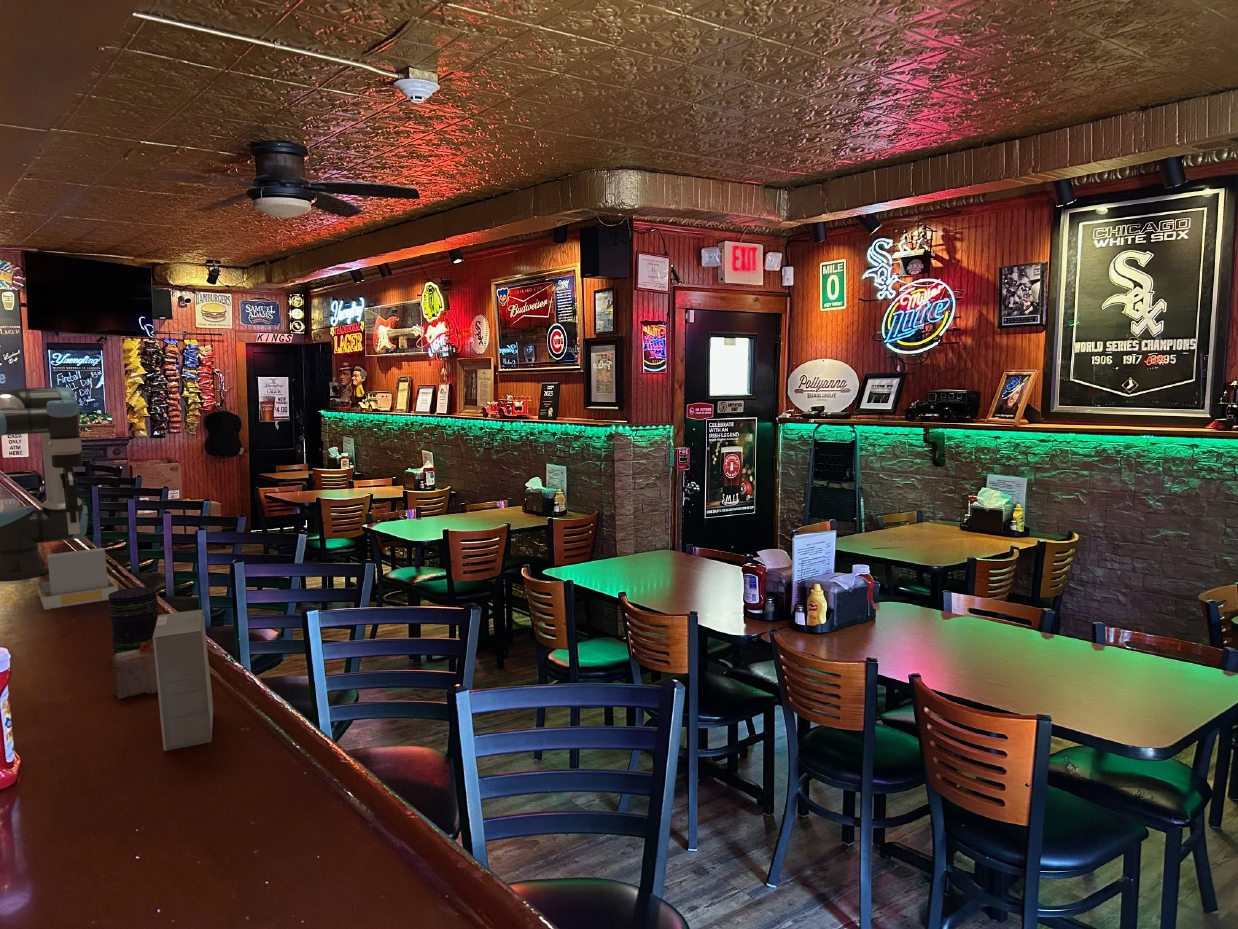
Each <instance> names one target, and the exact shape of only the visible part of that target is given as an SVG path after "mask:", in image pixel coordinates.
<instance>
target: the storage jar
mask: <svg viewBox="0 0 1238 929" xmlns="http://www.w3.org/2000/svg"><path fill="white" fill-rule="evenodd" d="M157 591H158V590H157V588H156V587H151V586H140V587H132V588H131V587H130V588H124V589H120V590H119V589H118V591H115V592H112V593H110V594H109V595H108V599H109V600H108V612H109V619H110V620H111V626H112V636H111V642H112V643H111V648H112V650H113V651H112V652H113V656H114V655H116V654H117V653H122V652H128V651H133V650H138V649H139V648H140V646H139V645H141V644H142V643H145V642H147V641H149V642H153V635H154V631H155V628H156V622H157V619H158V614H159V609H160V608H159V600H158V595H157Z"/></svg>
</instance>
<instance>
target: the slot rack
mask: <svg viewBox="0 0 1238 929" xmlns="http://www.w3.org/2000/svg"><path fill="white" fill-rule="evenodd" d="M107 579H108V588H101V589H95V590H88V591H81V592H74V593H68V594H61V595H54V596H51V589H50V581H47V582H46V581H45V582H40V583H37V592H38V597H39V599H40V603H41V605H42V608H43V610H50V609H51V608H52V609H59V608H64V607H70V606H78V605H83V604H90V603H95V602H103V601H109V599H108V595H109V594H110V593H112V592H115V591H119V585H118V584H117V583H116V582H115V581H114V580H113V579H112V578H111V576H110V575H109V573H107ZM52 609H51V610H52Z"/></svg>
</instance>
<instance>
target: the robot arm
mask: <svg viewBox="0 0 1238 929" xmlns="http://www.w3.org/2000/svg"><path fill="white" fill-rule="evenodd" d="M75 394H76V393H75V392H74V390H73V389H72V388H71V387H60V386H59V387H58V386H52V387H51V386H49V387H48V386H47V387H46V386H45V387H27V388H24V387H21V388H13V389H8V390H6V391H3V392H0V437H3V436H10V435H11V436H12V435H13V436H15V435H28V434H32V435H34V434H40V437H41V448H42V459H43V470H44V471H43V472H44V480H45V482H44V483H45V493H46V500H44V501H43V502H42V503H41V506H42V507H41V508H38V509H37V508H35V506H34V505H26V506H24V505H23V506H19V507H12V508H10V509H6V510H5V509H4V510H2V511H0V581H2V582H4V581H17V580H25V579H26V580H27V579H30V578H35V577H39V576H43V575H45V574H47V573H48V566H47V564H46V563H45V561H44V558H43V556H42V555H41V553H40V550H39V544H43V543H52V542H61V541H71V540H76V539H81V538H83V537H84V536H86V534H87V528H88V519H89V516H88V514H89V513H88V512H89V511H88V505H85V504H83V501H82V499H80V498H79V497H78V492H77V490H78V489H77V488H78V473H77V472H75V468H77V467H82V466H83V465H84V461H83V454H82V453H80V452H82V450H83V449H82V448H83V447H82V440H81V434H80V421H81V420H82V418H81V414H80V409H79V405H78V400H77V398H76V395H75Z"/></svg>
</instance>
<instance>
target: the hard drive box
mask: <svg viewBox="0 0 1238 929" xmlns="http://www.w3.org/2000/svg"><path fill="white" fill-rule="evenodd" d="M157 615H158V614H157ZM205 622H206V621H205V612H204V610H203V609H196V610H187V611H179V612H173V613H165V614H159V615H158V619H157V622H156V628H155V631H154V635H153V646H154V655H155V666H156V676H157V686H158V692H157V694H158V704H159V706H158V707H159V716H160V728H161V736H162V745H163V746H162V748H163V751H165V752H168V751H172V750H176V749H182V748H187V747H193V746H198V745H203V744H210V743H212V738H213V719H214V704H213V693H212V684H211V683H212V682H211V672H210V663H209V654H208V642H207V635H206V634H207V633H206V623H205Z"/></svg>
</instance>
